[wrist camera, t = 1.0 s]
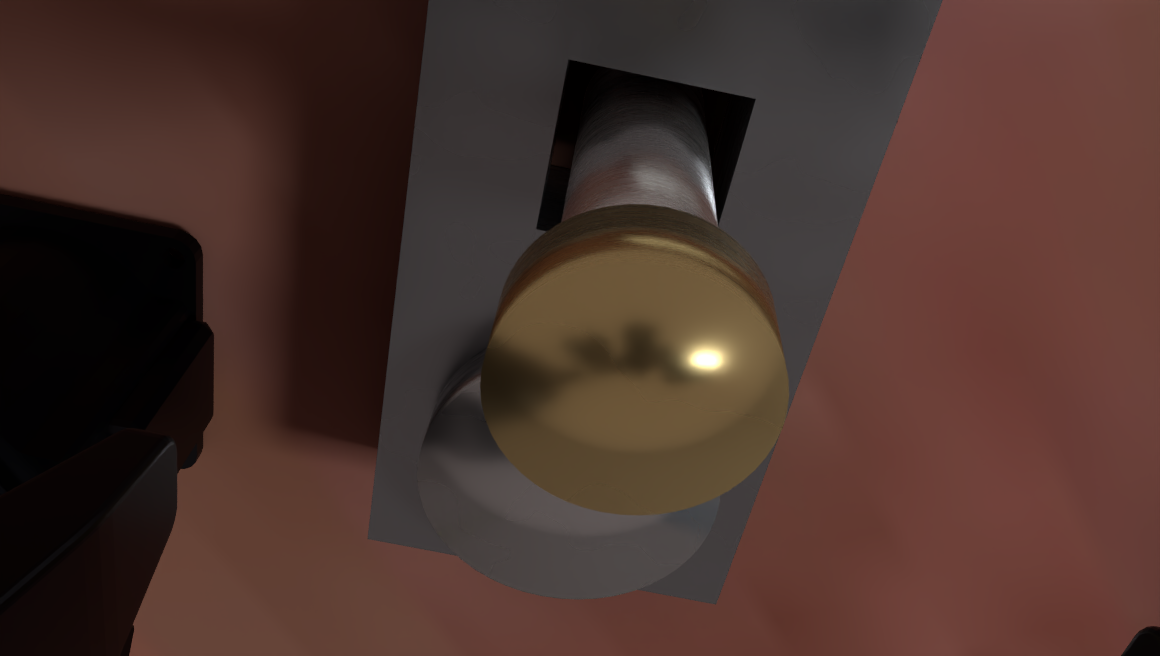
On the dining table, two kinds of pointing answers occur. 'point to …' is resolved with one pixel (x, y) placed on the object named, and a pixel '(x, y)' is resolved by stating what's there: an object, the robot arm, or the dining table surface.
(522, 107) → the block
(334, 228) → the dining table surface
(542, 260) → the pin
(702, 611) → the dining table surface
